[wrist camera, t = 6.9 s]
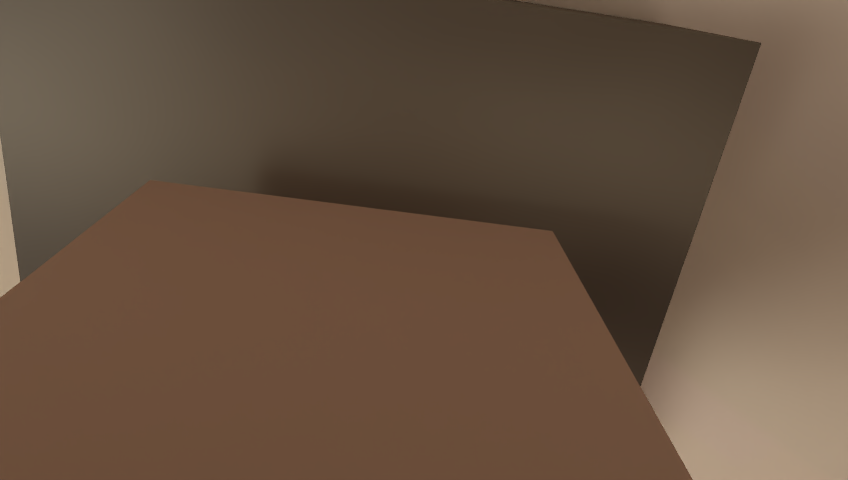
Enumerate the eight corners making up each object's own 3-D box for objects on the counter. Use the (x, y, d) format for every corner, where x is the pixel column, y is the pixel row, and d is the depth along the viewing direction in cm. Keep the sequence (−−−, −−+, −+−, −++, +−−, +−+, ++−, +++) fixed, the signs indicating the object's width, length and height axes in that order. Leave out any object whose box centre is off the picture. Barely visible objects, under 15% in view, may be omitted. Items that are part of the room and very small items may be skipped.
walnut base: (542, 445, 18) (577, 565, 14) (129, 404, 17) (53, 522, 13) (663, 24, 13) (760, 43, 10) (101, -65, 12) (-30, -82, 9)
